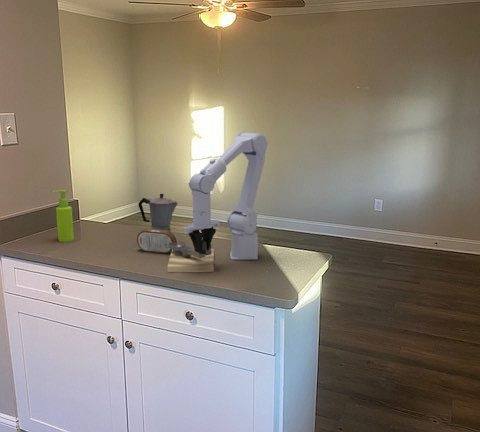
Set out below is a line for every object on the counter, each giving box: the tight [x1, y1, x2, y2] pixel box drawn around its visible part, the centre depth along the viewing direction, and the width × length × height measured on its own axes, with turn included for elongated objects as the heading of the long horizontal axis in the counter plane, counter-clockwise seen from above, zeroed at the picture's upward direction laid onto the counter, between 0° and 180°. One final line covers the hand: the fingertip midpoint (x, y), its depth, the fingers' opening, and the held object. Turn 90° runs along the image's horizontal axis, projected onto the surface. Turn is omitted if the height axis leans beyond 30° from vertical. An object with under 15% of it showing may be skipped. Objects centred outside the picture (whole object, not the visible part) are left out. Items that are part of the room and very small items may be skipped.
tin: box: [136, 228, 178, 254], centre depth 181 cm, size 15×3×8 cm, turn 74°
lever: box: [168, 238, 207, 258], centre depth 169 cm, size 18×4×7 cm, turn 47°
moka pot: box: [138, 193, 179, 233], centre depth 189 cm, size 10×15×20 cm, turn 89°
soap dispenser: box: [51, 189, 75, 243], centre depth 194 cm, size 6×7×20 cm
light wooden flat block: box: [166, 243, 215, 273], centre depth 170 cm, size 19×15×6 cm
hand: (202, 250), depth 164 cm, fingers open, 3 cm apart
